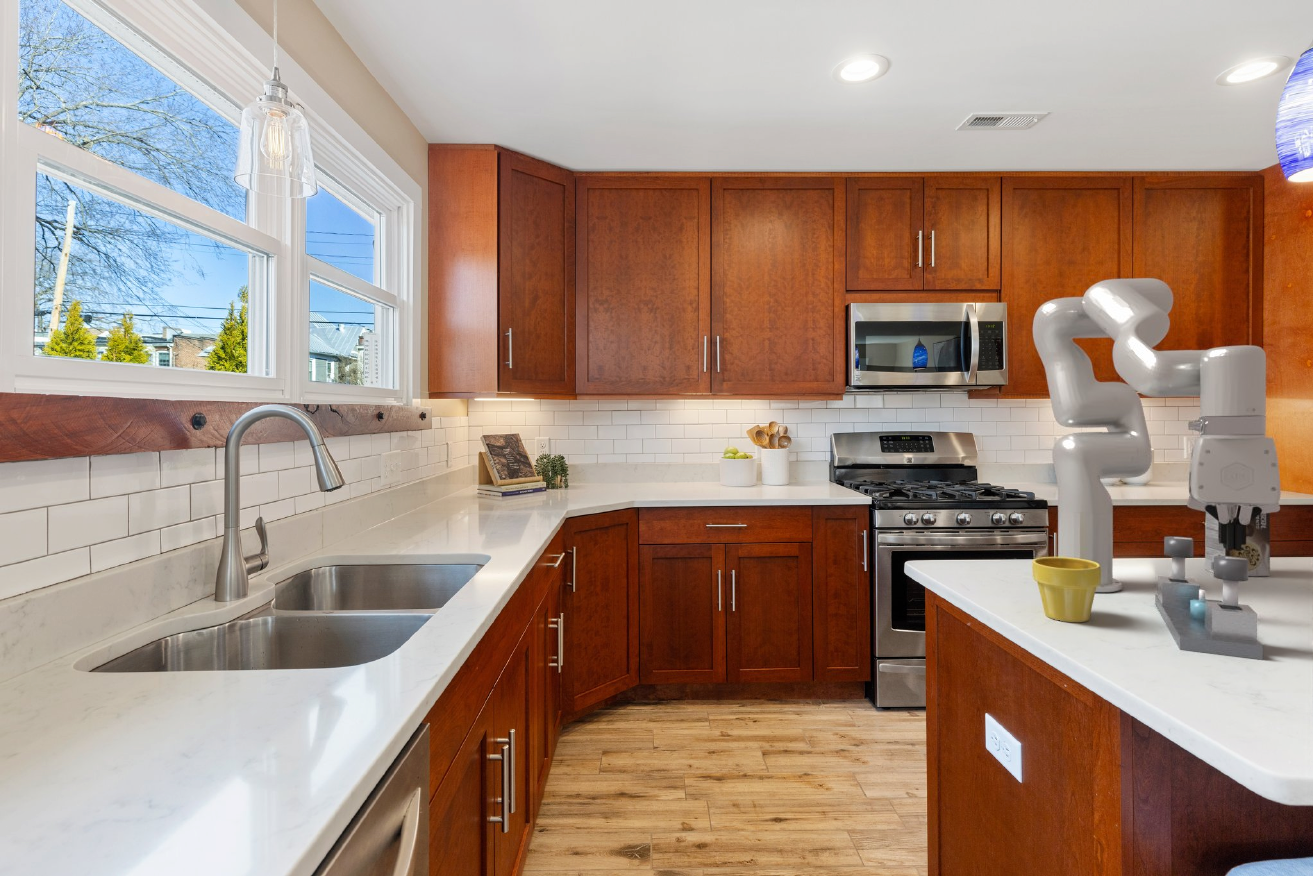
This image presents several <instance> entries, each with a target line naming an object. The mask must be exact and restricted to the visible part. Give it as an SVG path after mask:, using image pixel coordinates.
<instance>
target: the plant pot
mask: <svg viewBox="0 0 1313 876" xmlns="http://www.w3.org/2000/svg"><path fill="white" fill-rule="evenodd" d="M1031 565H1032V566H1031V567H1032V578H1033V580H1034V581H1035V582H1037V583H1036V584H1037V586H1038V591H1039V594H1040V598H1041V599H1040V600H1041V603H1042V606H1043V607H1042V608H1043V611H1044V615H1045V616H1046V617H1047V618H1049V619H1052V620H1054V619H1055V620H1056V621H1058V620H1060V621H1059V622H1066V623H1084V622H1085V623H1086V622H1088V621H1089V619H1090V617H1091V612H1092V608H1093V603H1094V599H1095V595H1096V592H1095V591H1096V587H1097V586H1099V585H1100V583H1101V566H1100V565H1099V564H1098V563H1096V562H1093V561H1089V560H1085V559H1078V558H1069V557H1058V556H1044V557H1036V558H1034V559H1032V564H1031Z"/></svg>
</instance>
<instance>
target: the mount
mask: <svg viewBox="0 0 1313 876" xmlns="http://www.w3.org/2000/svg"><path fill="white" fill-rule="evenodd" d="M1200 589H1201V584H1199V583H1198V581H1197V580H1196V579H1195V578H1186V577H1185V579H1175V578H1172V576H1160V575H1158V576H1157V594H1154V599H1155V600H1154V602H1155V603H1154V606H1155V605H1156V606H1155V607H1157V608H1156V609H1157V611H1158V613H1159V612H1160V613H1159V615H1160V614H1161V615H1160V617H1161V619H1162V620H1163V622H1164V624H1165V623H1166V624H1165V625H1166V628H1167V629H1168V631H1169V632H1170V634H1171V636H1172V638H1173V640H1174V642H1175V643H1176V645H1177V647H1178V648H1179V650H1180V651H1187V652H1188V651H1190V652H1198V653H1205V654H1213V655H1220V656H1229V657H1237V658H1246V659H1251V660H1252V659H1253V660H1260V661H1263V651H1264V650H1263V648H1264V647H1263V645H1262V644H1261V643H1260V642H1259V641H1258V613H1257V612H1256V611H1255V610H1254V609H1253V608H1252V607H1250V605H1249V604H1242V603H1241V604H1240V603H1238V606H1231V605H1225V604H1223V600H1217V599H1207V598H1205V620H1203V619H1197V618H1193V617H1191V616H1190V600H1199V590H1200Z"/></svg>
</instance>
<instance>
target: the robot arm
mask: <svg viewBox="0 0 1313 876" xmlns="http://www.w3.org/2000/svg"><path fill="white" fill-rule="evenodd" d="M1083 294H1084V295H1083V296H1073V297H1072V296H1068V297H1061V298H1060V297H1059V298H1055V299H1051V300H1048V301H1046V302H1044V303H1042V304H1041V305H1040V306H1039V307H1038V308H1037V310H1036V312H1035V314H1034V317H1033V322H1032V323H1033V324H1032V337H1033V343H1034V347H1035V349H1036V350H1037V353H1038V356H1039V357H1040V359H1041V362H1042V364H1043V367H1044V370H1045V375H1046V381H1047V388H1048V392H1049V398H1050V404H1051V408H1052V409H1051V410H1052V413H1053V416H1054V419H1055V421H1056V422H1057V424H1058V425H1060V426H1062V427H1063V428H1064V427H1065V428H1072V429H1073V428H1075V429H1076V428H1077V429H1078V428H1079V429H1080V428H1081V429H1083V428H1085V429H1086V428H1088V429H1089V428H1090V429H1093V428H1096V429H1097V428H1106V429H1107V431H1089V432H1087V431H1086V432H1085V431H1084V432H1073V433H1068V434H1066V435H1063V436H1061V437H1060V438H1058V439H1057V440H1056V442H1055V443H1054V444H1053V448H1052V454H1051V455H1052V461H1053V466H1054V472H1055V478H1056V486H1057V557H1069V558H1078V559H1085V560H1089V561H1093V562H1096V563H1098V564H1099V565H1100V566H1101V583H1100V585H1099V586H1097V587H1096V591H1095V593H1113V592H1118V591H1121V590H1122V588H1123V583H1122V582H1121V581H1120V580H1119V579H1116V578H1113V575H1114V574H1113V570H1114V569H1113V565H1114V564H1113V563H1114V561H1113V559H1114V558H1113V557H1114V556H1113V552H1114V551H1113V549H1114V548H1113V542H1114V541H1113V538H1114V537H1113V536H1114V535H1113V534H1114V531H1113V530H1114V529H1113V528H1114V526H1113V521H1114V520H1113V515H1114V514H1113V513H1114V511H1113V509H1114V507H1113V506H1114V505H1113V499H1112V497H1111V494H1110V493H1109V491H1108V489H1107V488H1106V487H1105V485H1104V484H1103V482H1102V481H1101V480H1105V479H1130V478H1132V479H1133V478H1138V477H1141V476H1143V475H1145V474H1146V473H1148V471H1149V469H1150V468H1151V465H1152V459H1153V452H1152V451H1153V450H1152V446H1151V445H1152V444H1151V440H1150V435H1149V431H1148V425H1147V423H1146V422H1147V421H1146V416H1145V412H1144V411H1145V410H1144V407H1143V403H1142V400H1141V397H1140V395H1139V394H1141V395H1143V396H1146V397H1149V398H1174V397H1175V398H1180V397H1183V398H1184V397H1188V398H1190V397H1191V398H1195V397H1197V398H1200V399H1199V400H1200V403H1199V404H1200V405H1199V406H1200V407H1199V408H1200V409H1199V410H1200V412H1199V413H1200V415H1199V418H1198V419H1197V420H1194V421H1188V423H1187V424H1188V430H1189V431H1197V432H1198V434H1199V436H1200V437H1195V438H1194V441H1193V445H1192V449H1191V456H1190V465H1189V473H1188V474H1189V475H1188V493H1189V497H1188V499H1187V503H1186V505H1187V507H1188V508H1190V509H1192V510H1196V511H1201V512H1208V513H1209V514H1210V515H1211V516H1212V517H1214V518H1215V519H1216V520H1217V521H1218V541H1219V543H1220V544H1223V547H1224V548H1225V549H1226V550H1231V551H1232V550H1236V551H1241V545H1246V525H1247V524H1249V522H1250V521H1251V520H1253V519H1254V518H1255V517H1257V516H1258V515H1260V514H1265V513H1270V514H1271V513H1277V512H1279V511H1280V510H1281V506H1280V503H1279V501H1280V500H1281V495H1282V494H1281V493H1282V492H1281V489H1282V488H1281V478H1280V477H1281V476H1280V466H1279V460H1278V453H1277V447H1276V443H1275V440H1274V437H1269V436H1268V437H1267V435H1266V434H1267V432H1266V431H1267V430H1266V428H1267V425H1266V424H1267V423H1266V421H1267V420H1266V419H1267V418H1266V417H1267V416H1266V413H1267V412H1266V411H1267V410H1266V409H1267V397H1266V396H1267V394H1266V393H1267V374H1266V373H1267V362H1266V361H1267V356H1266V352H1265V350H1264V349H1263V348H1262V347H1260V346H1258V345H1247V344H1246V345H1229V346H1219V347H1212V348H1209V349H1201V350H1200V349H1197V350H1196V349H1195V350H1194V349H1185V350H1184V349H1183V350H1182V349H1181V350H1156V349H1153V348H1154V347H1156V345H1159V343H1161V341H1162V340H1163V339H1165V337H1166V335H1167V334H1168V332H1169V329H1170V325H1171V322H1170V321H1171V320H1170V317H1169V314H1170V312H1171V310H1172V308H1173V304H1174V295H1173V294H1174V293H1173V291H1172V290H1171V288H1170V286H1169V285H1168V284H1167V283H1166V282H1165V281H1163V280H1161V279H1158V278H1152V277H1151V278H1150V277H1148V278H1147V277H1143V278H1142V277H1141V278H1140V277H1139V278H1135V277H1134V278H1111V279H1105V280H1101V281H1098V282H1096V283H1094V284H1093V285H1091V286H1090V287H1089V288H1088V289H1087V290H1086V291H1085V293H1083ZM1089 338H1092V339H1093V338H1094V339H1095V338H1096V339H1097V338H1100V339H1101V338H1111V339H1112V340H1113V341H1114V343H1113V347H1112V362H1113V366H1114V369H1115V371H1116V373H1117V374H1118V375H1119V377H1121V379H1123V380H1124V381H1125V383H1124V382H1121V381H1120V382H1119V381H1105V382H1103V381H1102V382H1100V381H1098V380H1097V379H1096V378H1095V377H1096V376H1095V373H1094V370H1093V365H1092V361H1091V359H1090V357H1089V356H1088V354H1087V353H1086V352H1085V351H1084V349H1082V348H1081V347H1080V346H1079V345H1078V344H1077V343H1075V342H1074V341H1073V339H1089ZM1138 393H1139V394H1138ZM1206 503H1212V504H1213V505H1211V504H1206ZM1226 504H1238V505H1237V510H1236V515H1235V518H1234V519H1233V522H1232V523H1231V520H1230V519H1229V516H1228V511H1227V505H1226ZM1253 505H1255V506H1253Z"/></svg>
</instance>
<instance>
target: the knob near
mask: <svg viewBox="0 0 1313 876" xmlns="http://www.w3.org/2000/svg"><path fill="white" fill-rule="evenodd" d="M1213 578H1215V579H1219V580H1222V602H1223V604H1225V605H1231V606H1238V604H1239V582H1248V581H1249V576H1248V560H1247V559H1246V558H1240V557H1233V556H1214V573H1213Z"/></svg>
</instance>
